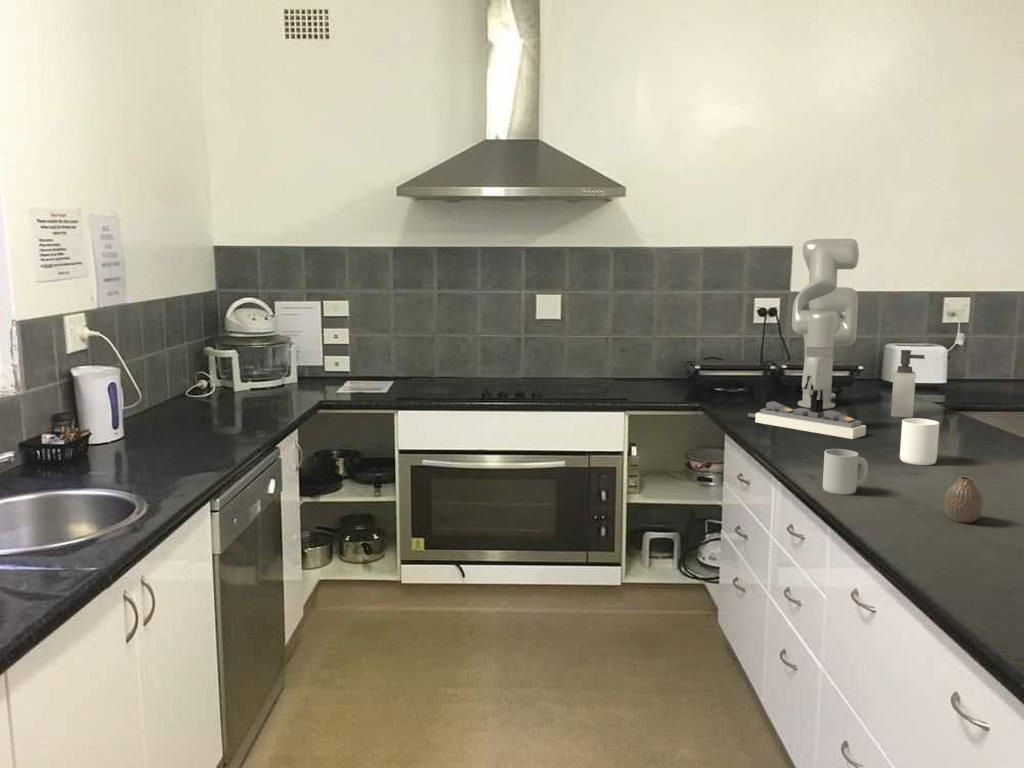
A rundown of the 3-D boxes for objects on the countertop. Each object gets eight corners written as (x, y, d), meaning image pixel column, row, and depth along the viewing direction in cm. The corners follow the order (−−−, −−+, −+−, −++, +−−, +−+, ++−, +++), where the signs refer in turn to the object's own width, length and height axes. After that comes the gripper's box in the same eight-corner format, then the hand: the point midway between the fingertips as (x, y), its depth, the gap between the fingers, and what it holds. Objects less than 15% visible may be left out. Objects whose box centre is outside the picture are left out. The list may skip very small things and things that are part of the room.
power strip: (755, 416, 268) (755, 404, 267) (865, 435, 239) (866, 421, 238) (742, 419, 263) (742, 407, 262) (852, 439, 234) (853, 424, 233)
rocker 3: (830, 414, 245) (831, 409, 244) (853, 424, 239) (855, 418, 239) (823, 416, 242) (824, 410, 242) (847, 426, 237) (848, 420, 236)
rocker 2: (800, 412, 252) (800, 407, 252) (824, 416, 246) (824, 411, 246) (793, 414, 250) (793, 408, 250) (817, 418, 244) (817, 412, 244)
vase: (945, 523, 160) (948, 480, 158) (940, 513, 166) (943, 472, 165) (985, 527, 157) (988, 484, 156) (978, 516, 164) (981, 475, 162)
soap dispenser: (920, 418, 263) (925, 352, 260) (891, 416, 267) (895, 351, 263) (919, 414, 269) (924, 350, 265) (891, 412, 272) (895, 349, 269)
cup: (817, 486, 186) (819, 449, 185) (860, 485, 186) (862, 448, 185) (829, 495, 179) (831, 456, 178) (874, 494, 179) (876, 456, 178)
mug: (924, 454, 215) (927, 416, 213) (941, 466, 203) (944, 425, 201) (890, 454, 216) (893, 415, 214) (906, 465, 204) (908, 424, 202)
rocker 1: (772, 405, 260) (773, 400, 259) (793, 414, 254) (795, 409, 254) (765, 407, 258) (766, 402, 257) (786, 416, 252) (788, 411, 251)
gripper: (820, 350, 251) (817, 407, 253) (794, 353, 241) (792, 413, 244) (843, 352, 245) (840, 410, 247) (817, 355, 235) (814, 416, 238)
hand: (816, 411), depth 246 cm, fingers closed
